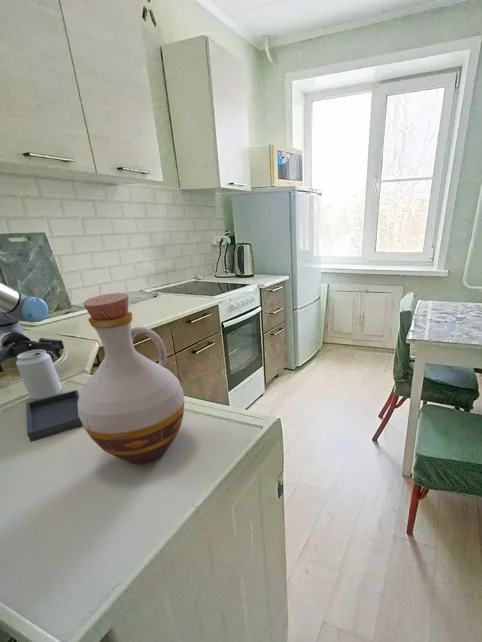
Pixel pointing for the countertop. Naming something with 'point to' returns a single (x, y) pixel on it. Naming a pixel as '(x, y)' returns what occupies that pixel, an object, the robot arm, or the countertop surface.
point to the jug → (129, 388)
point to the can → (38, 374)
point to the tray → (52, 415)
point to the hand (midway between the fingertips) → (30, 359)
